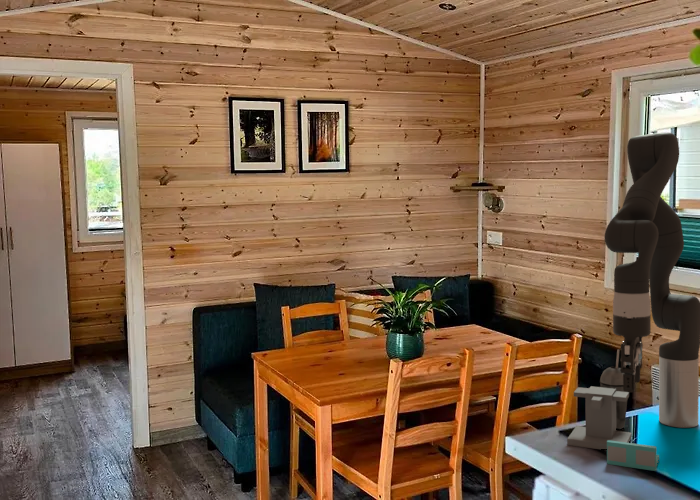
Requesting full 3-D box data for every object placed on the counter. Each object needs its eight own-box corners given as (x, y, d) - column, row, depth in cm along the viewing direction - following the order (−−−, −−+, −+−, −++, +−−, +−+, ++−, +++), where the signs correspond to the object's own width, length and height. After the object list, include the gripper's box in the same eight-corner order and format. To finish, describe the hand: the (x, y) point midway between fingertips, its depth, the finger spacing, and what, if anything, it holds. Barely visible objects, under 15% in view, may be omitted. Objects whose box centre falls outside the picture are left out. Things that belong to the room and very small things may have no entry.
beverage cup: (593, 424, 184) (593, 348, 183) (617, 421, 186) (616, 345, 185) (612, 433, 177) (612, 354, 176) (636, 429, 179) (636, 351, 178)
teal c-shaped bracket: (612, 453, 164) (612, 431, 163) (659, 459, 159) (659, 437, 158) (606, 463, 157) (606, 441, 157) (655, 471, 153) (655, 448, 152)
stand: (576, 431, 179) (576, 384, 178) (631, 438, 173) (631, 390, 172) (567, 444, 170) (566, 395, 169) (624, 452, 164) (624, 401, 163)
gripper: (618, 307, 161) (618, 377, 162) (607, 317, 149) (608, 393, 150) (654, 308, 157) (654, 380, 159) (646, 319, 145) (646, 397, 146)
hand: (631, 386), depth 154 cm, fingers open, 8 cm apart
